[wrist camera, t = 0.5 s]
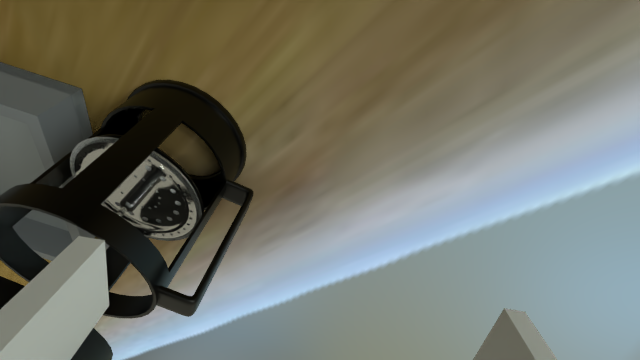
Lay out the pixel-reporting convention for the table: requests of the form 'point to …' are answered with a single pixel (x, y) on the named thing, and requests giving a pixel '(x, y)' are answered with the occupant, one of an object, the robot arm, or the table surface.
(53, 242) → the tray
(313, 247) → the table surface
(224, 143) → the french press
